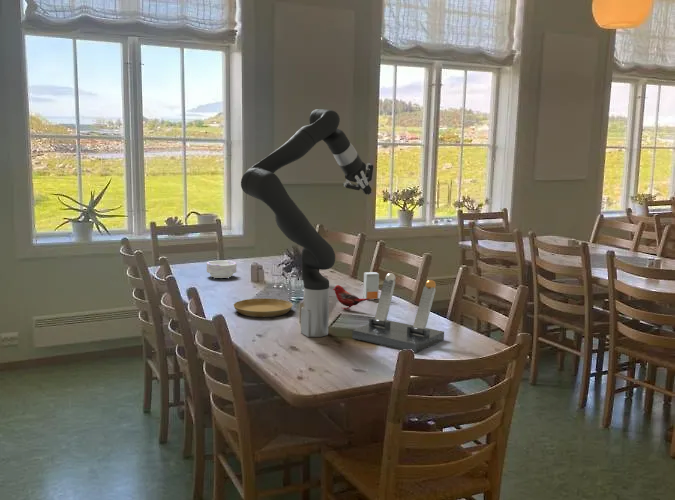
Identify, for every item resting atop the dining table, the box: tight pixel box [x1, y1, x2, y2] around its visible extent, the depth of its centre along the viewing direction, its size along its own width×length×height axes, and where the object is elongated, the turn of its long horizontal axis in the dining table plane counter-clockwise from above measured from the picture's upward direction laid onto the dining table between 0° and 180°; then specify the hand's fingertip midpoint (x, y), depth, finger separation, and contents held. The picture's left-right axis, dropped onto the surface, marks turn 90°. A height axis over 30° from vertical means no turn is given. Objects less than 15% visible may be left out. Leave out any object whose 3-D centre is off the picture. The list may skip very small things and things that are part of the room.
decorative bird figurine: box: [332, 284, 370, 311], centre depth 269 cm, size 3×18×10 cm, turn 59°
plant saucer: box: [233, 297, 293, 318], centre depth 265 cm, size 24×24×3 cm
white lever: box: [372, 272, 396, 327], centre depth 236 cm, size 4×5×20 cm
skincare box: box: [362, 271, 380, 301], centre depth 291 cm, size 6×4×12 cm
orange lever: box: [410, 279, 437, 336], centre depth 227 cm, size 4×5×20 cm
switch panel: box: [351, 317, 445, 354], centre depth 230 cm, size 20×26×6 cm
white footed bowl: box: [206, 260, 237, 279], centre depth 332 cm, size 15×15×8 cm
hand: (368, 192), depth 230 cm, fingers closed
